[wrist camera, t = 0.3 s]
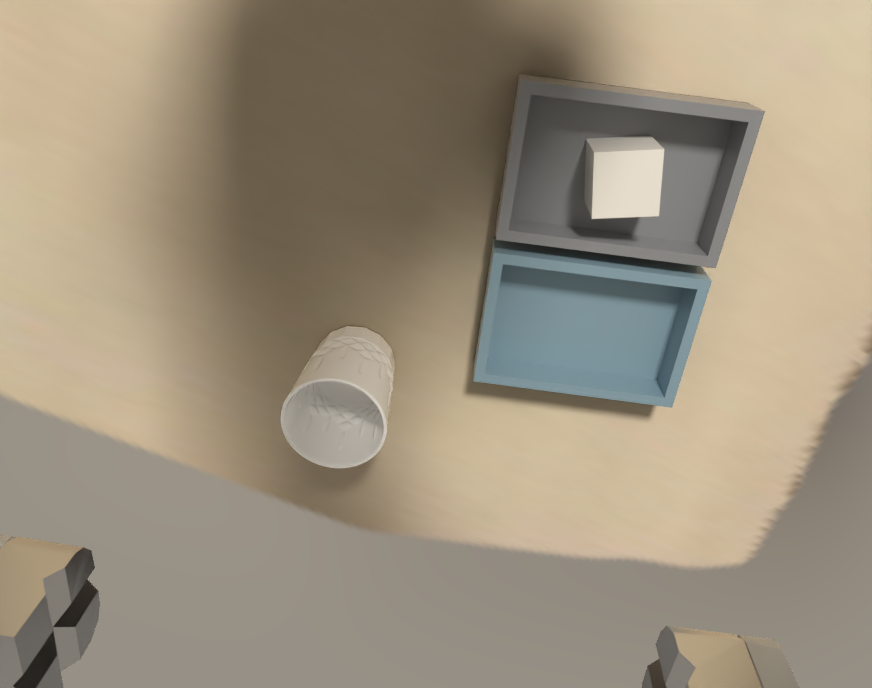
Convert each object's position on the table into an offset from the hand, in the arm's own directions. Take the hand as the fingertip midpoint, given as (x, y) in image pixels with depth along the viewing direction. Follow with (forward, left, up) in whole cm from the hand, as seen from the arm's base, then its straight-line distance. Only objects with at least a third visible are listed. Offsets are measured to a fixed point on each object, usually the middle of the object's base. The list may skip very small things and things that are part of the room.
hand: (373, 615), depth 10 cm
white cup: (+22, -7, -46) cm, 52 cm away
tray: (+3, +11, -46) cm, 47 cm away
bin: (+15, +11, -46) cm, 50 cm away
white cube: (+3, +11, -45) cm, 47 cm away
